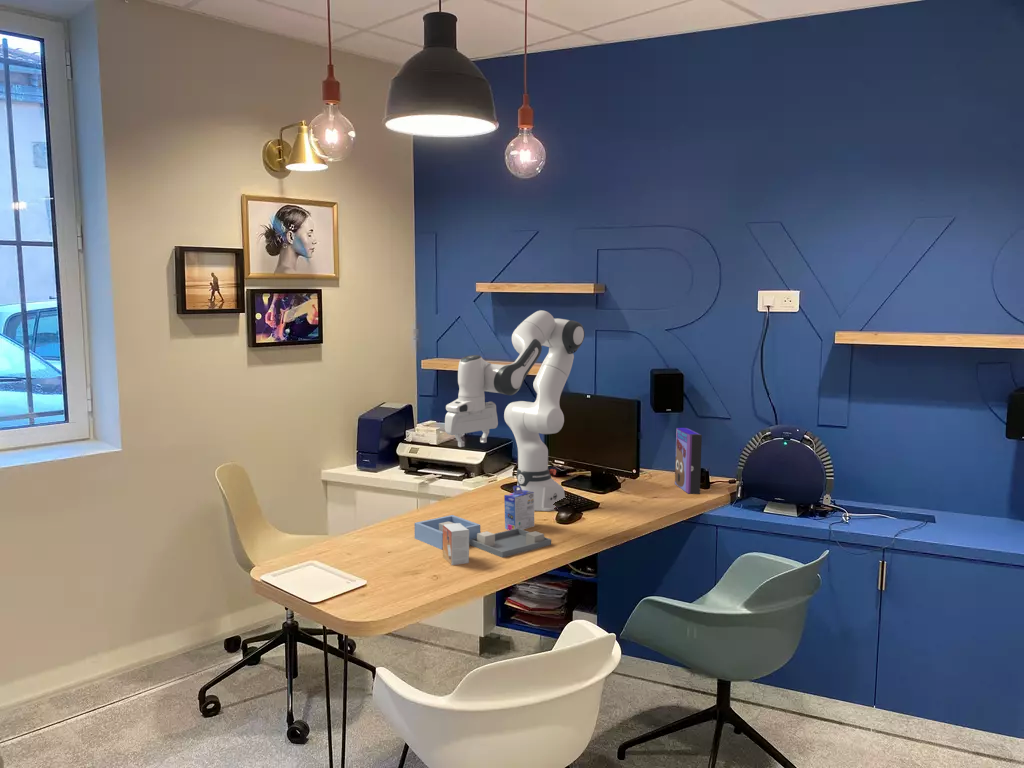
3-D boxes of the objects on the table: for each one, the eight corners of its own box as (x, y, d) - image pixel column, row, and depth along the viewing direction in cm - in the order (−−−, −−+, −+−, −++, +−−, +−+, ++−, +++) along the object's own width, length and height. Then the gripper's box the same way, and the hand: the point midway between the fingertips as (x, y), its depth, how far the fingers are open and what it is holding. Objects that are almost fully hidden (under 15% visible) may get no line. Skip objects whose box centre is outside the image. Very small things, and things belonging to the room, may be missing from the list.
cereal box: (674, 484, 340) (676, 427, 337) (685, 483, 340) (687, 427, 338) (688, 494, 322) (690, 434, 320) (699, 493, 323) (701, 434, 320)
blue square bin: (452, 531, 269) (452, 514, 268) (480, 541, 257) (480, 524, 257) (414, 539, 259) (414, 522, 258) (441, 551, 248) (441, 533, 247)
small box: (442, 558, 241) (442, 524, 240) (460, 556, 243) (460, 522, 242) (451, 567, 233) (451, 531, 232) (469, 564, 236) (469, 529, 234)
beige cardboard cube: (448, 536, 261) (448, 521, 260) (456, 539, 258) (456, 524, 257) (438, 538, 258) (438, 523, 258) (446, 541, 255) (446, 526, 255)
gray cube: (535, 541, 256) (535, 531, 256) (544, 544, 253) (544, 534, 253) (525, 544, 254) (526, 533, 253) (534, 547, 250) (534, 536, 250)
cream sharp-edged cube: (486, 542, 256) (486, 531, 255) (494, 545, 253) (494, 534, 252) (476, 544, 253) (476, 533, 253) (484, 547, 250) (484, 536, 250)
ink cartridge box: (523, 524, 278) (523, 482, 277) (535, 527, 274) (535, 485, 273) (503, 530, 271) (503, 487, 269) (515, 533, 267) (515, 490, 266)
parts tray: (517, 534, 266) (517, 528, 265) (551, 546, 254) (551, 539, 253) (469, 546, 253) (469, 539, 252) (502, 559, 241) (502, 551, 240)
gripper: (489, 399, 280) (490, 439, 282) (441, 406, 267) (442, 447, 269) (501, 401, 275) (502, 441, 277) (453, 408, 262) (453, 450, 264)
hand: (472, 444), depth 273 cm, fingers open, 8 cm apart
